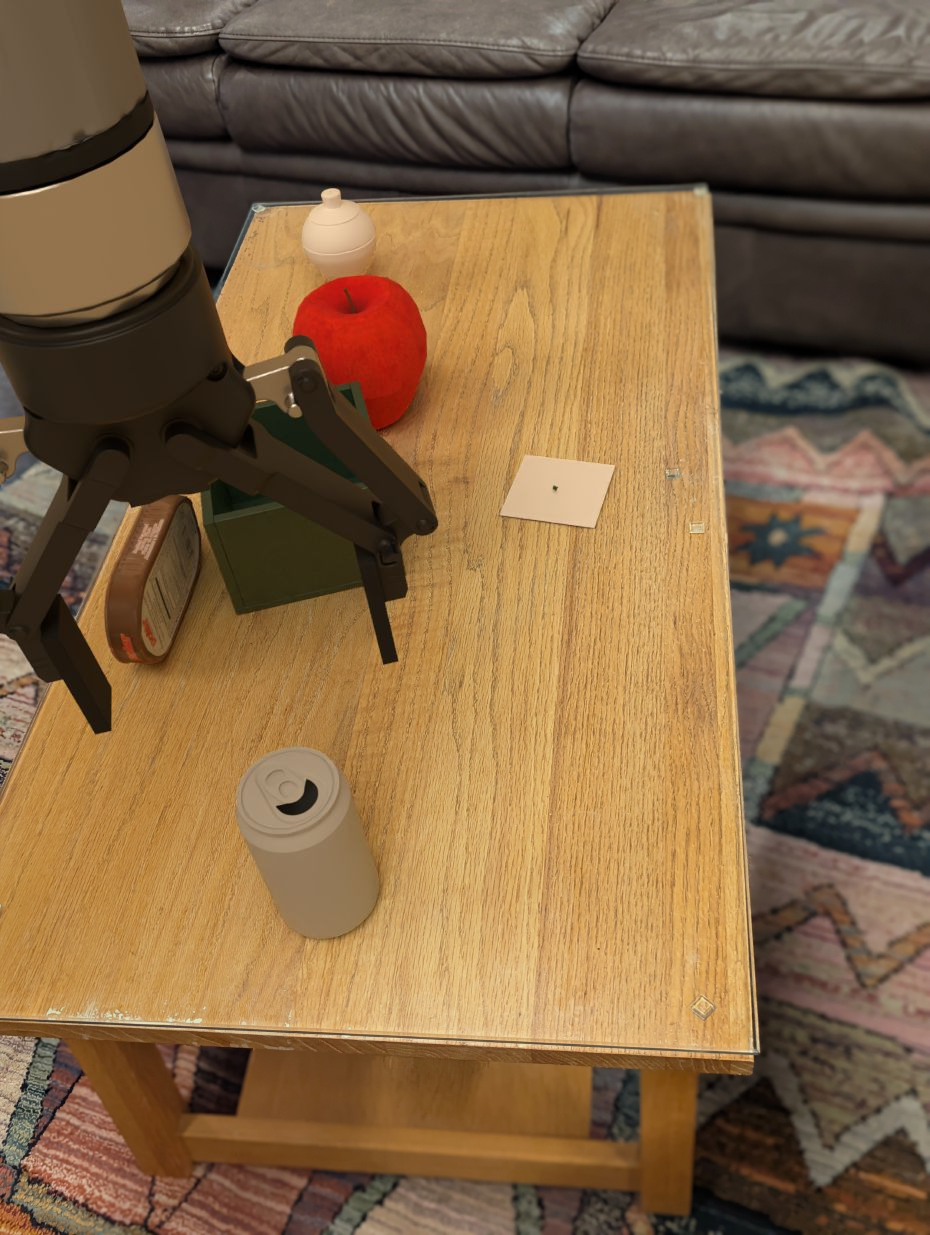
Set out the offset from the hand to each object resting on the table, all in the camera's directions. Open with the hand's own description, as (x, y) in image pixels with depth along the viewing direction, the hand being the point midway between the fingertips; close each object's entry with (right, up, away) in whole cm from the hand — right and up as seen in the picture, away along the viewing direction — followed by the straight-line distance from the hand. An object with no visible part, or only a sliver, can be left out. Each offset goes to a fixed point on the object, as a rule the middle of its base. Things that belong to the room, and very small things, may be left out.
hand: (246, 677), depth 51 cm
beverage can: (+2, -15, +16) cm, 22 cm away
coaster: (+18, +13, +39) cm, 45 cm away
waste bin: (-2, +9, +38) cm, 39 cm away
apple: (+2, +22, +49) cm, 54 cm away
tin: (-13, +3, +34) cm, 36 cm away
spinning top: (-2, +36, +64) cm, 73 cm away
